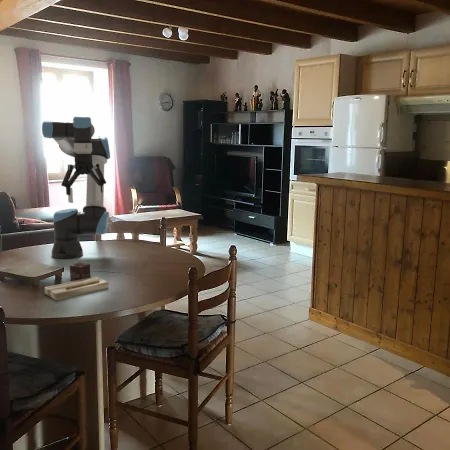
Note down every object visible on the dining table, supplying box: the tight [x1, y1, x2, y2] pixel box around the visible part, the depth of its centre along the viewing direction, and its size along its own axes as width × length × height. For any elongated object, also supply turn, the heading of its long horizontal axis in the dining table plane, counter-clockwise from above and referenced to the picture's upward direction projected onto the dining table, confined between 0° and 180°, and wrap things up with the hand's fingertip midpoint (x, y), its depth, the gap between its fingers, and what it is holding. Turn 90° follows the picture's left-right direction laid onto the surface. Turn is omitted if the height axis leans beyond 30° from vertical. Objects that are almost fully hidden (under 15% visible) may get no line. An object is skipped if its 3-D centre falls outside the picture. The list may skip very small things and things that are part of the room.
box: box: [69, 261, 92, 282], centre depth 200 cm, size 6×6×7 cm
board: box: [44, 275, 109, 301], centre depth 189 cm, size 10×22×3 cm, turn 134°
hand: (85, 201), depth 211 cm, fingers open, 13 cm apart
